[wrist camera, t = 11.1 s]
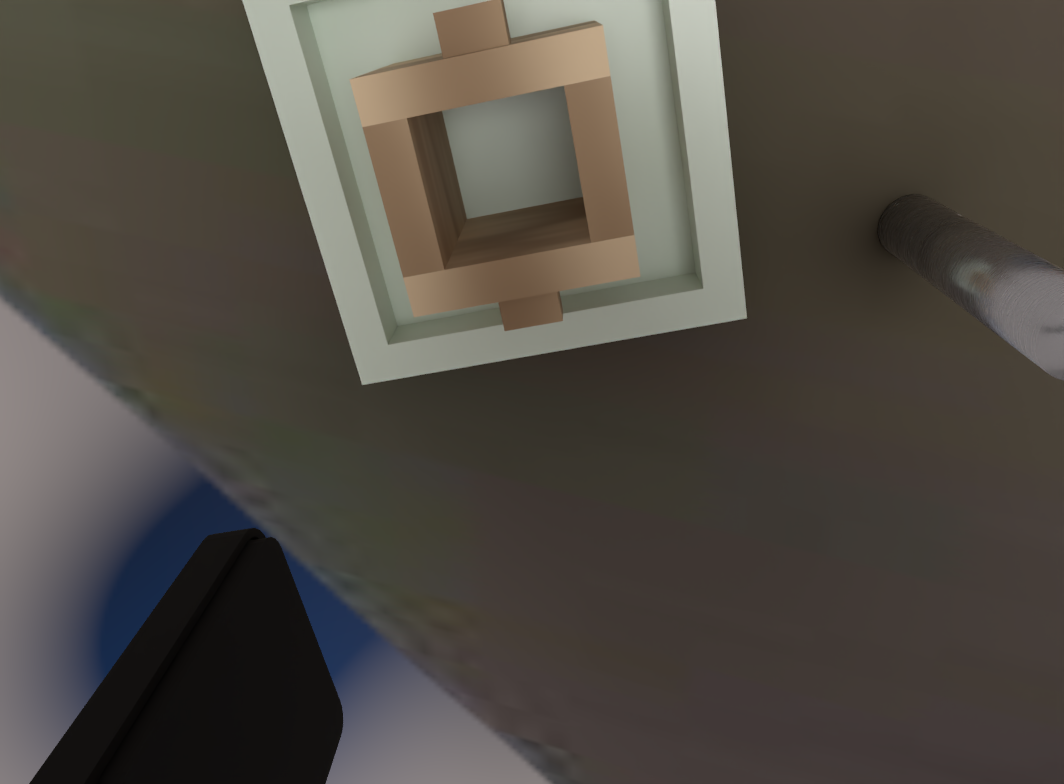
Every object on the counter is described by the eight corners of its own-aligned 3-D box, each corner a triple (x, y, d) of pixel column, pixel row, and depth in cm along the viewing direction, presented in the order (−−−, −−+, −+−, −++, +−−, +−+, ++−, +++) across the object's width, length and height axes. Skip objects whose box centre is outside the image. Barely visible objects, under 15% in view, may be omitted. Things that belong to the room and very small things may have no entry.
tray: (732, 293, 28) (747, 318, 26) (377, 355, 30) (362, 385, 27) (687, -130, 23) (700, -145, 21) (262, -31, 25) (231, -34, 22)
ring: (588, -18, 24) (595, -24, 19) (630, 254, 27) (646, 313, 22) (384, 27, 24) (337, 33, 19) (448, 287, 28) (423, 352, 23)
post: (941, 249, 27) (1130, 372, 18) (878, 261, 28) (1033, 387, 18) (941, 188, 27) (1139, 286, 17) (877, 201, 27) (1038, 302, 18)
